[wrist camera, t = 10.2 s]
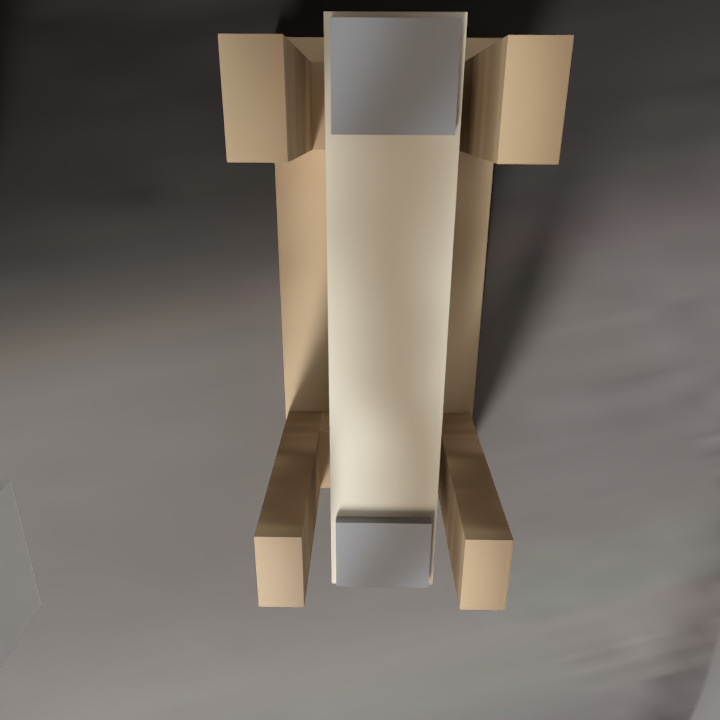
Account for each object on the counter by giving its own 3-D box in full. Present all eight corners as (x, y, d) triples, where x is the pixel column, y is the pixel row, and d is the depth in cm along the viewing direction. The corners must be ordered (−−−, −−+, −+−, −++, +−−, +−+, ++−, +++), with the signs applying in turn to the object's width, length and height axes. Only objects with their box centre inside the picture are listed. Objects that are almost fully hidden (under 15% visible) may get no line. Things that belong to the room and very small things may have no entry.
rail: (337, 508, 29) (331, 590, 24) (333, 34, 22) (322, 9, 16) (422, 509, 29) (433, 591, 24) (446, 35, 21) (469, 9, 16)
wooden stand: (291, 471, 32) (256, 627, 22) (273, 40, 24) (208, -14, 15) (464, 473, 32) (506, 631, 22) (498, 41, 24) (586, -13, 14)
